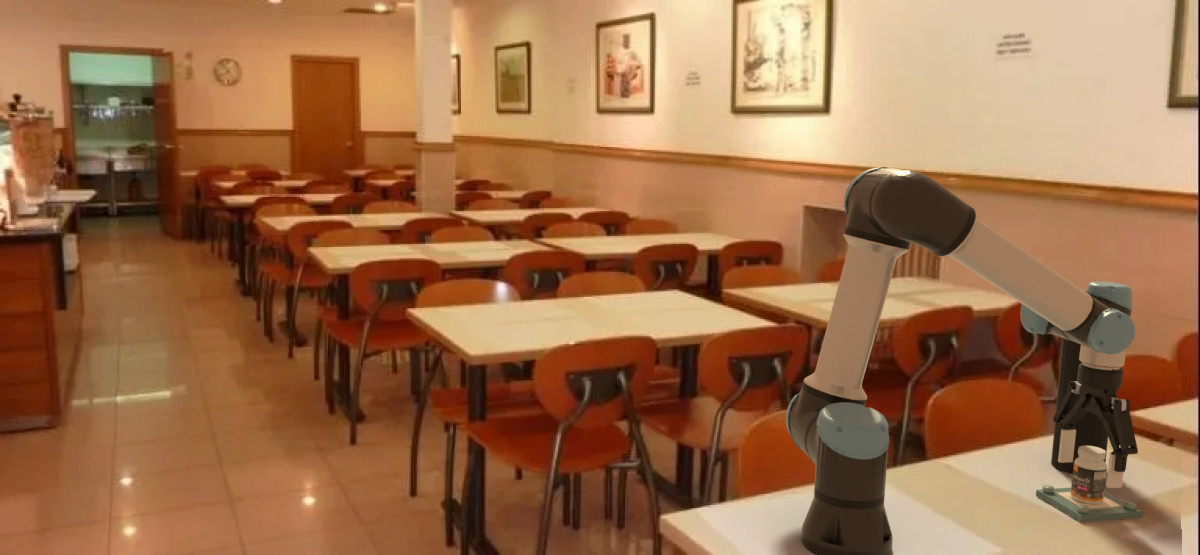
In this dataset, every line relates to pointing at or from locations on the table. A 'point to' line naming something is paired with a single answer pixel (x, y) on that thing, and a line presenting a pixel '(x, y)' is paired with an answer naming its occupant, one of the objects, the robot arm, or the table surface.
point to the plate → (1089, 505)
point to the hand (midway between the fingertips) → (1088, 474)
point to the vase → (1089, 425)
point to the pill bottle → (1089, 475)
